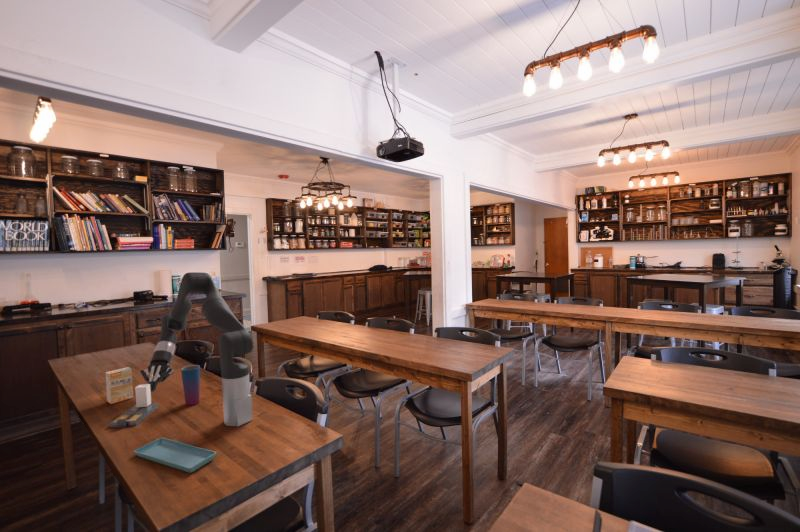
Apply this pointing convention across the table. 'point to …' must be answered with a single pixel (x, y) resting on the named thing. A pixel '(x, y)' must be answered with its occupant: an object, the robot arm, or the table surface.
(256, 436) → the table surface
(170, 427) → the table surface
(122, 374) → the supplement box
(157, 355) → the robot arm
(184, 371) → the cup
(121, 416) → the console
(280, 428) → the table surface
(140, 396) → the fader knob
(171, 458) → the rectangular tray
